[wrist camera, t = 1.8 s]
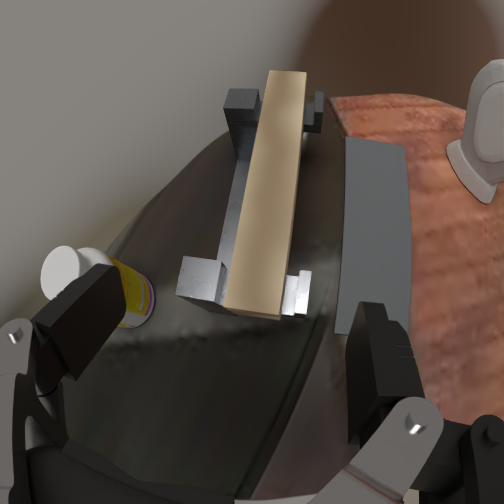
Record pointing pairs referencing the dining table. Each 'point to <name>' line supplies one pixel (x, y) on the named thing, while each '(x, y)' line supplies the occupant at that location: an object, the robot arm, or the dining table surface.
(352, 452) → the dining table surface
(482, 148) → the soap bottle
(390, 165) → the mat
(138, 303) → the supplement bottle
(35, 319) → the robot arm
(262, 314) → the rail
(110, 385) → the dining table surface
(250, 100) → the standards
